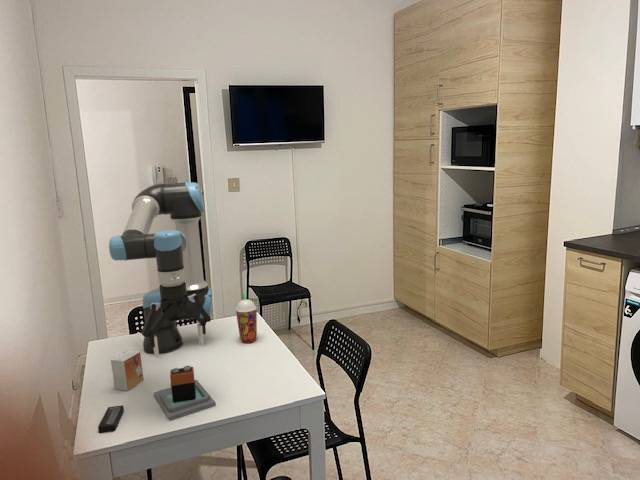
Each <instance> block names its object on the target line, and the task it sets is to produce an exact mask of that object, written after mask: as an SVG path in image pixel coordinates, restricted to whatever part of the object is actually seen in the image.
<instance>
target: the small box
mask: <svg viewBox="0 0 640 480" xmlns="http://www.w3.org/2000/svg"><path fill="white" fill-rule="evenodd" d="M141 356H142V355H141V351H135V350H129V349H128V350H126V351H124V352H122V353H120V354H119V355H117V356H116V357H114V358H113V357H112V359H110V365H111V371H112V372H111V373H112V380H113V387H114V389H115V390H121V391H126V392H127V391H129V390H131V389H133V388H134V387H135V386H137V385H138V384H140V383H142V382H143V381H144V374H143V373H144V372H143V364H142V357H141Z"/></svg>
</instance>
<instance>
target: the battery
mask: <svg viewBox="0 0 640 480" xmlns="http://www.w3.org/2000/svg"><path fill="white" fill-rule="evenodd" d="M169 379H170V387H171V389H172V398H173V402H180V401H187V400H193V399H195V398H196V389H195V380H196V379H195V371H194V367H193V366H191V365H185V366H183V367H180V368H178V367H175V368H172V369H170V375H169Z"/></svg>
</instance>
